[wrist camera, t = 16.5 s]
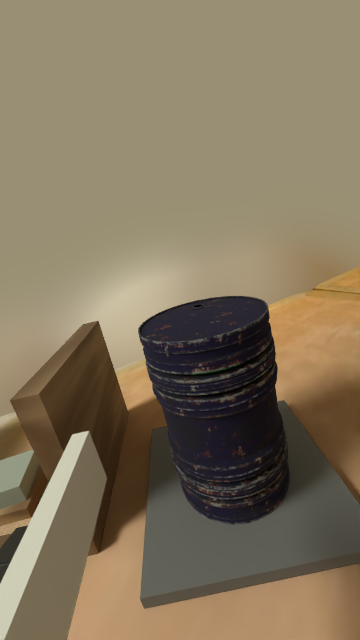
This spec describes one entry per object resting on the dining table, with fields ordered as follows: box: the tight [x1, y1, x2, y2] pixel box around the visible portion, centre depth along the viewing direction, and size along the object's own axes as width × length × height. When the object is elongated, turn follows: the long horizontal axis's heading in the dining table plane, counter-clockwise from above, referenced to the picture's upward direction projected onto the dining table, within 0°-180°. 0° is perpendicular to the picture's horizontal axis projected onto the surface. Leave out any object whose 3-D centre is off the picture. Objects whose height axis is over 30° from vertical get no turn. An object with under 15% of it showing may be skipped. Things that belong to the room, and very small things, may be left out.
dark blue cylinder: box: [138, 296, 290, 525], centre depth 23 cm, size 10×10×15 cm
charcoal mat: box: [140, 400, 360, 609], centre depth 25 cm, size 16×16×1 cm
